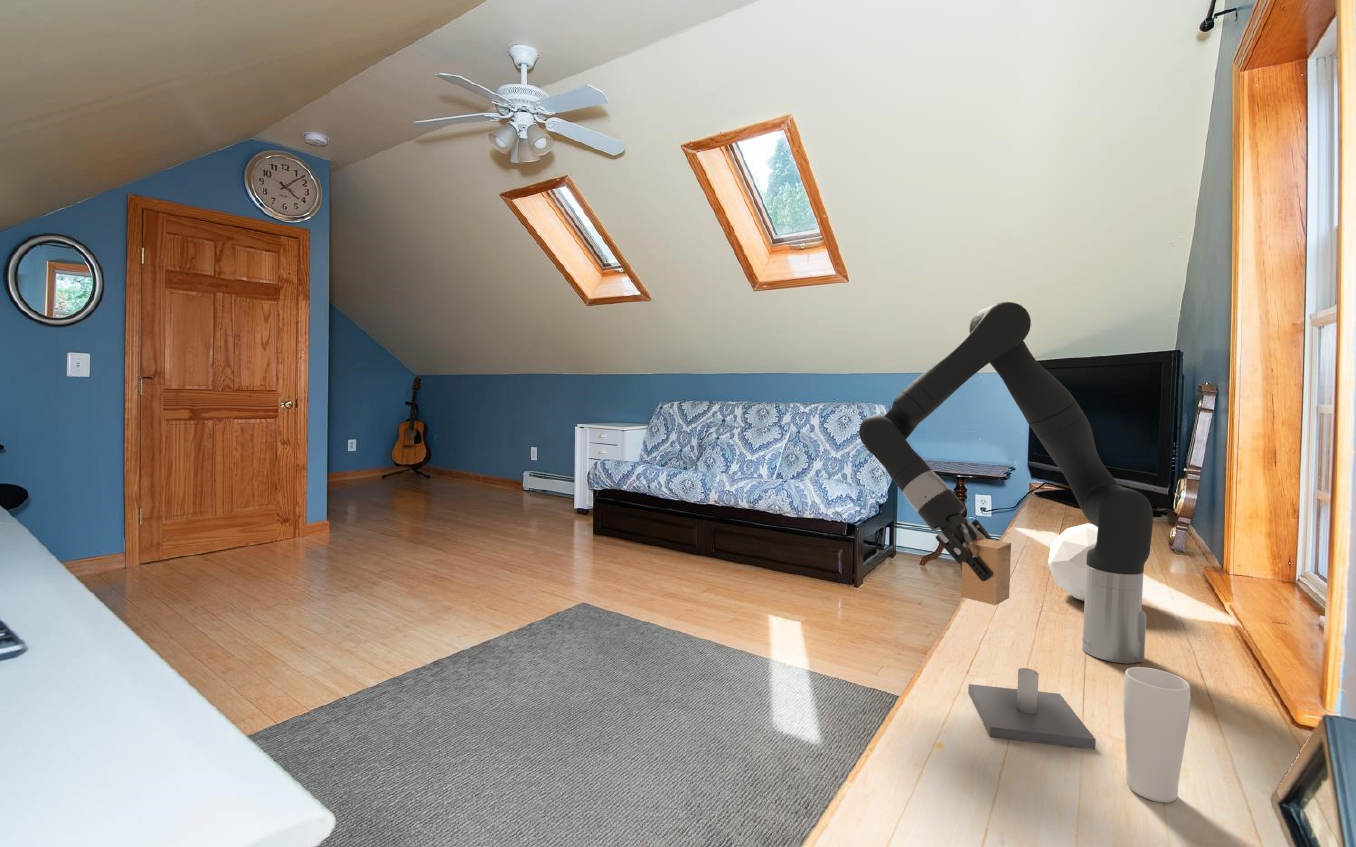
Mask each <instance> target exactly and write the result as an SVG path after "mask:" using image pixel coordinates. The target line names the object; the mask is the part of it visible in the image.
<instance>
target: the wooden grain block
mask: <svg viewBox="0 0 1356 847" xmlns="http://www.w3.org/2000/svg"><path fill="white" fill-rule="evenodd" d="M964 543H965V542H963V544H964ZM971 548H972V549H973V550H974V551H975V552H976V554H977V556H978V557H979V558H980V559H981V560H982V562H983V563H984V564H985V565H986V566H987V567H988V569H989V570H990V571H991V572H992V574H993V575H992V577H990V578H989V579H988V580H986V581H981V580H980V578H979V577H978V576H977V575H976V574H975V572H974V571H973V570H972V569H971V567H970V566H969V565H968V564H967V565H966V564H964V563H963V562H961V582H960V583H961V586H960V588H961V589H960V593H961V594H960V598H964V599H968V600H972V601H977V602H980V603H985V604H988V605H992V606H997V605H999V604H1001V603H1002V602H1004V601H1006V600H1008V599H1010V587H1011V586H1010V583H1011V557H1012V556H1011V554H1012V542H1007V541H1000V540H995V539H993V540H990V539H986V538H985V539H979V538H978V537H977V539H976V540H973V544H971ZM967 550H968V549H967ZM978 557H977V558H978Z"/></svg>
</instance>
